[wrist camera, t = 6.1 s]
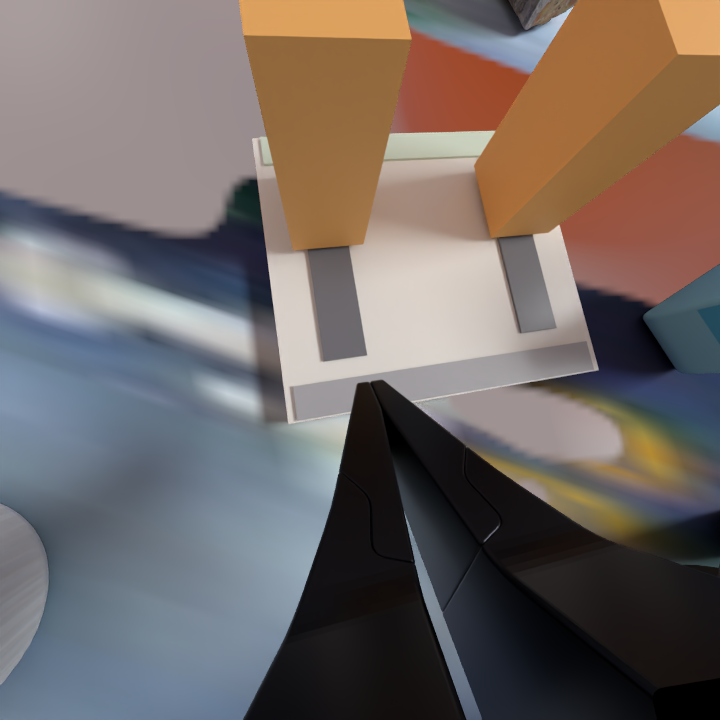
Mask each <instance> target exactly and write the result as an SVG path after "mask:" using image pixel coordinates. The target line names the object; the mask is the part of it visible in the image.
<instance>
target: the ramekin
mask: <svg viewBox="0 0 720 720" xmlns="http://www.w3.org/2000/svg"><path fill="white" fill-rule="evenodd" d="M48 585H49V569H48V560H47V555H46V551H45V548H44V545H43V543H42V541H41V539H40V537H39V536H38V534H37V532H36V531H35V529H34V528H33V527H32V525H31V524H30V523H29V522H28V521H27V520H26V519H25V518H24V517H22V516H21V515H20V514H19V513H17V512H16V511H14V510H13V509H11V508H9V507H8V506H5V505H3V504H0V685H1V684H2V683H3V682H4V681H5V680H6V678H7V677H8V676H9V674H10V673H11V671H12V670H13V669H14V667H15V666H16V665H17V664H18V663H19V661H20V660H21V658H22V657H23V655H24V653H25V651H26V650H27V648H28V647H29V646H30V644H31V642H32V639H33V637H34V635H35V633H36V632H37V629H38V627H39V624H40V620H41V618H42V615H43V612H44V607H45V603H46V599H47V593H48Z"/></svg>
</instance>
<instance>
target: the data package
mask: <svg viewBox="0 0 720 720" xmlns="http://www.w3.org/2000/svg"><path fill="white" fill-rule="evenodd" d="M643 320H644V321H645V323H646V324H647V326H648V327H649V329H650V330H651V332H652V333H653V335H654V336H655V338H656V339H657V341H658V343H659V344H660V346H661V347H662V349H663V350H664V352H665V353H666V355H667V356H668V358H669V359H670V361H671V362H672V364H673V365H674V367H675V368H676V370H677V371H679V372H681V373H685V374H708V373H720V264H719V265H717V266H716V267H714V268H713V269H711V270H710V271H708V272H707V273H705V274H704V275H702V276H701V277H699V278H698V279H696V280H694V281H693V282H691V283H690V284H688V285H687V286H685V287H684V288H682V289H681V290H679V291H678V292H676V293H675V294H673V295H672V296H670V297H669V298H667V299H666V300H664V301H663V302H661V303H660V304H658V305H657V306H655V307H654V308H652V309H651V310H649V311H648V312H646V313H645V314H644V316H643Z"/></svg>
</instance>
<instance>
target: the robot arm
mask: <svg viewBox="0 0 720 720" xmlns="http://www.w3.org/2000/svg"><path fill="white" fill-rule="evenodd" d="M404 512H405V514H406V517H407V520H408V522H409V525H410V528H411V530H412V533H413V536H414V538H415V541H416V544H417V546H418V549H419V552H420V554H421V557H422V560H423V562H424V565H425V568H426V570H427V573H428V576H429V578H430V581H431V583H432V586H433V589H434V591H435V594H436V597H437V599H438V602H439V605H440V607H441V610H442V612H443V616H444V618H445V621H446V624H447V626H448V629H449V632H450V634H451V637H452V640H453V642H454V645H455V648H456V650H457V653H458V656H459V658H460V661H461V664H462V666H463V669H464V672H465V674H466V677H467V680H468V682H469V685H470V688H471V690H472V693H473V695H474V698H475V701H476V703H477V706H478V709H479V711H480V714H481V717H482V719H483V720H720V577H717V576H714V575H711V574H708V573H705V572H702V571H699V570H696V569H693V568H690V567H687V566H684V565H680V564H677V563H674V562H671V561H668V560H665V559H662V558H659V557H656V556H653V555H650V554H647V553H643V552H640V551H637V550H634V549H631V548H628V547H625V546H622V545H619V544H617V543H614V542H612V541H609V540H607V539H605V538H603V537H601V536H599V535H597V534H595V533H593V532H591V531H589V530H587V529H586V528H584V527H582V526H581V525H579V524H577V523H576V522H574V521H573V520H571V519H570V518H568V517H567V516H565V515H564V514H562V513H561V512H559V511H558V510H556V509H555V508H553V507H552V506H550V505H549V504H547V503H546V502H544V501H543V500H541V499H540V498H538V497H537V496H535V495H534V494H532V493H531V492H529V491H528V490H526V489H525V488H523V487H522V486H520V485H519V484H517V483H516V482H514V481H513V480H511V479H510V478H509V477H507V476H506V475H504V474H503V473H501V472H500V471H498V470H497V469H496V468H494V467H493V466H492V465H490V464H489V463H488V462H487V461H485V460H484V459H483V458H481V457H480V456H479V455H477V454H476V453H475V452H474V451H472V450H471V449H470V448H469V447H466V445H465V444H463V443H462V442H461V441H460V440H458V439H457V438H456V437H455V436H453V435H452V434H451V433H450V432H448V431H447V430H446V429H445V428H443V427H442V426H441V425H440V424H438V423H437V422H436V421H435V420H433V419H432V418H431V417H429V416H428V415H427V414H426V413H424V412H423V411H422V410H421V409H419V408H418V407H417V406H416V405H414V404H413V403H412V402H411V401H409V400H408V399H407V398H406V397H404V396H403V395H402V394H401V393H399V392H398V391H397V390H396V389H394V388H393V387H392V386H391V385H389V384H388V383H387V382H386V381H384V380H382V379H380V380H373V381H371V382H368V381H367V382H361V383H357V385H356V389H355V394H354V399H353V404H352V409H351V414H350V419H349V424H348V429H347V434H346V439H345V444H344V449H343V454H342V459H341V464H340V469H339V474H338V478H337V483H336V488H335V492H334V496H333V501H332V505H331V509H330V512H329V515H328V518H327V522H326V525H325V528H324V532H323V535H322V537H321V540H320V543H319V546H318V549H317V552H316V555H315V558H314V561H313V564H312V567H311V570H310V573H309V576H308V579H307V581H306V584H305V587H304V590H303V593H302V596H301V599H300V601H299V604H298V607H297V609H296V612H295V614H294V617H293V619H292V622H291V624H290V627H289V629H288V631H287V634H286V636H285V638H284V640H283V642H282V644H281V646H280V648H279V650H278V652H277V654H276V656H275V658H274V660H273V662H272V664H271V666H270V668H269V670H268V672H267V674H266V676H265V678H264V680H263V681H262V683H261V685H260V687H259V689H258V691H257V693H256V695H255V697H254V699H253V701H252V703H251V705H250V707H249V709H248V711H247V713H246V715H245V717H244V719H243V720H466V717H465V714H464V712H463V709H462V706H461V703H460V700H459V697H458V695H457V692H456V689H455V686H454V683H453V680H452V678H451V675H450V672H449V669H448V666H447V663H446V661H445V658H444V655H443V652H442V649H441V646H440V644H439V641H438V638H437V635H436V632H435V629H434V627H433V624H432V621H431V618H430V615H429V612H428V610H427V607H426V604H425V601H424V597H423V593H422V590H421V586H420V582H419V578H418V574H417V569H416V566H415V560H414V555H413V551H412V546H411V542H410V537H409V532H408V528H407V523H406V519H405V514H404Z"/></svg>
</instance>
